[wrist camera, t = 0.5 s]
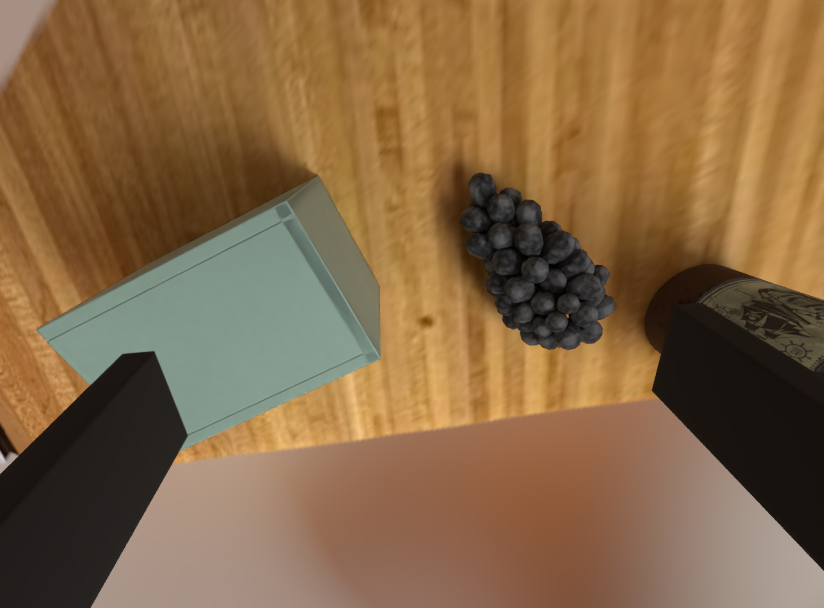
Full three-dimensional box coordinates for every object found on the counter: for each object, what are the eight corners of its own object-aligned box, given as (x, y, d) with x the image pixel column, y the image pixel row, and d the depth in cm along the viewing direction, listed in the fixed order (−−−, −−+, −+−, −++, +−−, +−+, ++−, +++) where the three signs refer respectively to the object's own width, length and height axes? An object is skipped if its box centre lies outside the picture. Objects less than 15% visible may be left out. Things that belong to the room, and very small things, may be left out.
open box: (227, 359, 36) (162, 459, 25) (151, 262, 32) (34, 329, 21) (379, 286, 35) (381, 359, 24) (318, 175, 31) (286, 199, 20)
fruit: (465, 205, 23) (576, 387, 28) (568, 123, 25) (657, 312, 30) (415, 210, 31) (508, 351, 37) (494, 148, 33) (574, 293, 38)
